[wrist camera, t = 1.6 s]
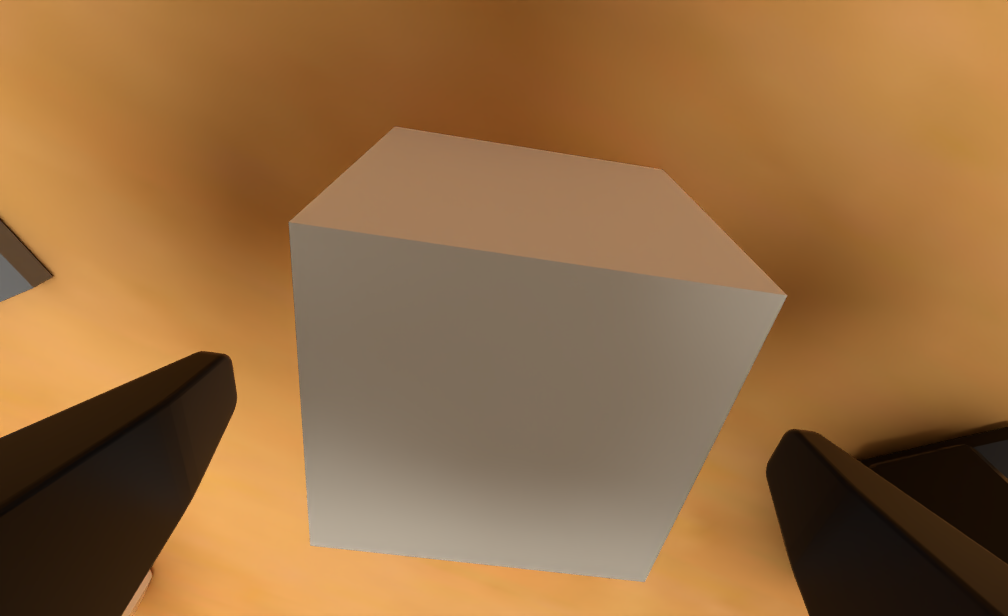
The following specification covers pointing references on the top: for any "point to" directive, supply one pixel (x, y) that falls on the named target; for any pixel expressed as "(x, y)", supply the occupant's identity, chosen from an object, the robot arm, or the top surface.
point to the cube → (514, 354)
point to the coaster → (17, 266)
